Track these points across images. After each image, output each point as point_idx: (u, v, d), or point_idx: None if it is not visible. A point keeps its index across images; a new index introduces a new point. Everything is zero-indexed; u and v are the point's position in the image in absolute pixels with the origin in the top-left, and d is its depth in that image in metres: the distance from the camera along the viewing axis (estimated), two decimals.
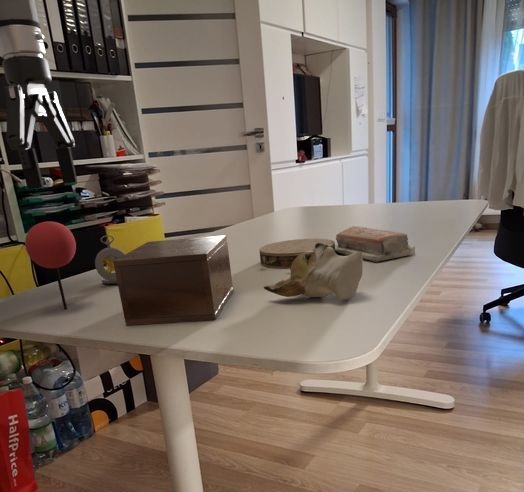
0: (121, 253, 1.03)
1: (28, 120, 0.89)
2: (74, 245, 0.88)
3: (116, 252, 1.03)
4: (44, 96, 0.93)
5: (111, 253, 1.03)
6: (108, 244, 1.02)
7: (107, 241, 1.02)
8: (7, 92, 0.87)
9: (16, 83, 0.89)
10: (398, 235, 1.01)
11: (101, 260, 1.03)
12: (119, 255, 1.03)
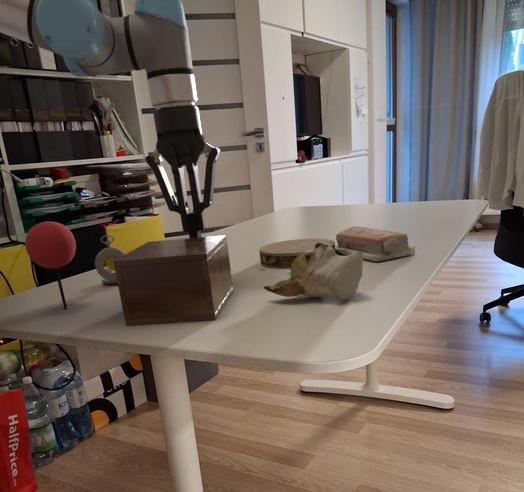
0: (121, 253, 1.03)
1: (198, 180, 0.91)
2: (74, 245, 0.88)
3: (116, 252, 1.03)
4: None
5: (111, 253, 1.03)
6: (108, 244, 1.02)
7: (107, 241, 1.02)
8: (216, 156, 0.87)
9: (200, 131, 0.86)
10: (398, 235, 1.01)
11: (101, 260, 1.03)
12: (119, 255, 1.03)
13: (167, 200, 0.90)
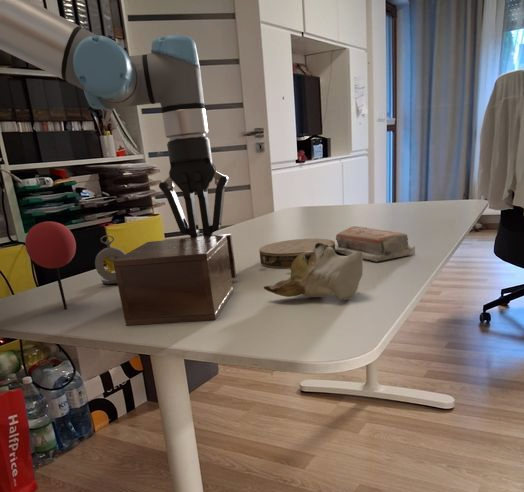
0: (121, 253, 1.03)
1: (208, 205, 0.97)
2: (74, 245, 0.88)
3: (116, 252, 1.03)
4: None
5: (111, 253, 1.03)
6: (108, 244, 1.02)
7: (107, 241, 1.02)
8: (225, 183, 0.93)
9: (210, 160, 0.93)
10: (398, 235, 1.01)
11: (101, 260, 1.03)
12: (119, 255, 1.03)
13: (179, 223, 0.97)
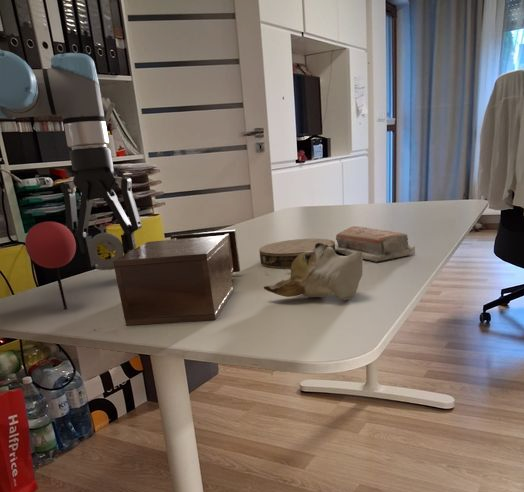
0: (115, 238, 1.02)
1: (121, 207, 1.03)
2: (74, 245, 0.88)
3: (110, 238, 1.02)
4: None
5: (104, 239, 1.01)
6: (102, 229, 1.01)
7: (101, 226, 1.01)
8: (128, 184, 0.99)
9: (111, 169, 0.99)
10: (398, 235, 1.01)
11: (94, 246, 1.02)
12: (113, 241, 1.02)
13: (68, 224, 1.03)
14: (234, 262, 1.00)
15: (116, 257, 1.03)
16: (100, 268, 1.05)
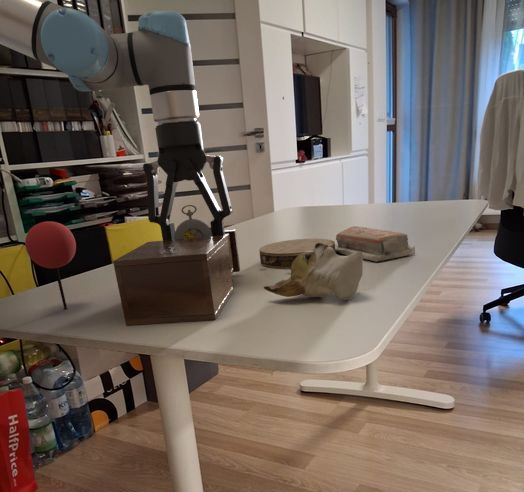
0: (204, 225, 0.90)
1: (210, 190, 0.91)
2: (74, 245, 0.88)
3: (199, 225, 0.90)
4: None
5: (192, 226, 0.90)
6: (190, 215, 0.89)
7: (189, 212, 0.89)
8: (220, 163, 0.87)
9: (201, 146, 0.87)
10: (398, 235, 1.01)
11: (182, 234, 0.90)
12: (202, 228, 0.90)
13: (150, 210, 0.91)
14: (234, 262, 1.00)
15: None
16: None
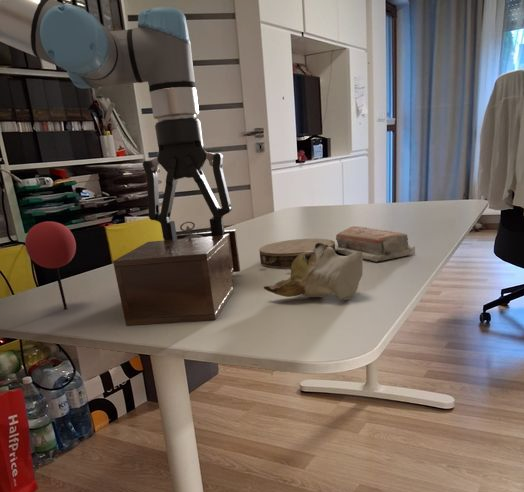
0: None
1: (209, 187, 0.91)
2: (74, 245, 0.88)
3: None
4: None
5: None
6: (189, 232, 0.90)
7: (187, 228, 0.90)
8: (220, 160, 0.87)
9: (201, 144, 0.87)
10: (398, 235, 1.01)
11: None
12: None
13: (150, 208, 0.91)
14: (234, 262, 1.00)
15: None
16: None
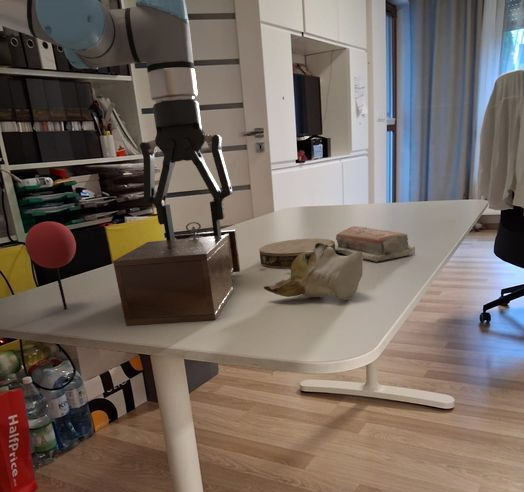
0: None
1: (208, 170, 0.89)
2: (74, 245, 0.88)
3: None
4: None
5: None
6: (194, 232, 0.90)
7: (193, 229, 0.90)
8: (219, 142, 0.86)
9: (200, 126, 0.86)
10: (398, 235, 1.01)
11: None
12: None
13: (145, 191, 0.90)
14: (234, 262, 1.00)
15: None
16: None
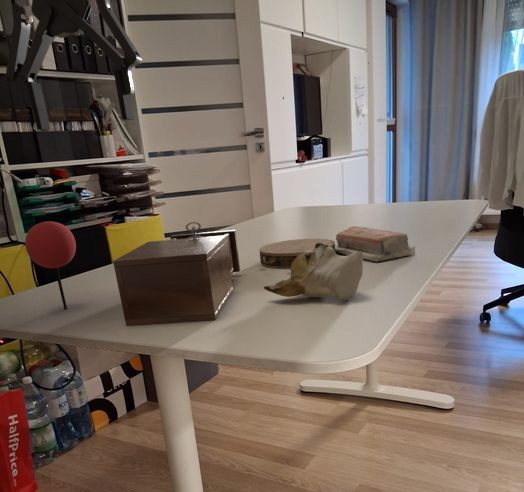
0: None
1: (105, 38, 0.76)
2: (74, 245, 0.88)
3: None
4: None
5: None
6: (194, 232, 0.90)
7: (193, 229, 0.90)
8: None
9: None
10: (398, 235, 1.01)
11: None
12: None
13: (10, 63, 0.77)
14: (234, 262, 1.00)
15: None
16: None
